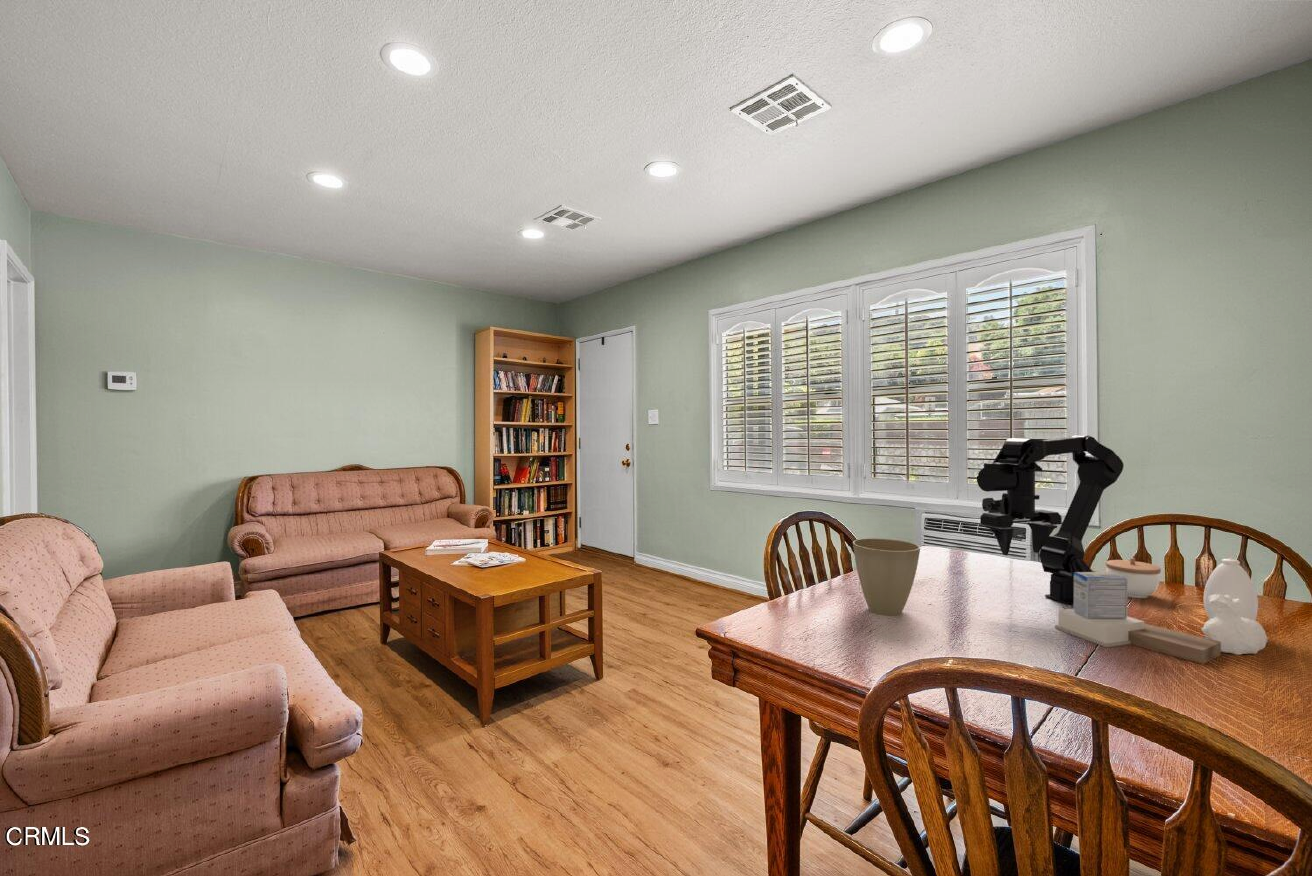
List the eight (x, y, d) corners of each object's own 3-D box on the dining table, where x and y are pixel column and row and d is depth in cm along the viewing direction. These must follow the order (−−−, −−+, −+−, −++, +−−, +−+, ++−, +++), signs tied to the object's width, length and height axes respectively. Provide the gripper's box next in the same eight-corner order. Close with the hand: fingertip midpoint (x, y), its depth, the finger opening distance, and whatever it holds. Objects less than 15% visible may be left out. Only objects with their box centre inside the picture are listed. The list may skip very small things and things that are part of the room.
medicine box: (1111, 612, 118) (1112, 571, 118) (1128, 619, 114) (1128, 577, 113) (1072, 611, 119) (1072, 571, 118) (1087, 619, 114) (1087, 577, 114)
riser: (1094, 623, 123) (1094, 605, 123) (1148, 641, 112) (1148, 622, 112) (1055, 628, 120) (1055, 609, 120) (1106, 647, 110) (1106, 627, 110)
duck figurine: (1256, 658, 109) (1218, 602, 116) (1295, 646, 103) (1252, 588, 110) (1202, 661, 108) (1166, 604, 115) (1238, 650, 102) (1198, 590, 109)
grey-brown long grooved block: (1141, 634, 116) (1141, 622, 116) (1220, 655, 105) (1220, 642, 105) (1123, 642, 112) (1123, 629, 112) (1203, 664, 102) (1203, 650, 102)
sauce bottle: (1241, 641, 112) (1241, 552, 111) (1194, 628, 119) (1195, 544, 119) (1267, 637, 114) (1268, 549, 114) (1219, 624, 121) (1220, 542, 121)
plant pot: (911, 626, 122) (911, 554, 122) (844, 612, 131) (844, 545, 131) (926, 608, 134) (926, 542, 134) (863, 597, 143) (863, 535, 143)
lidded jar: (1096, 591, 145) (1096, 556, 145) (1119, 586, 150) (1119, 552, 150) (1146, 603, 136) (1146, 565, 135) (1169, 597, 140) (1169, 560, 140)
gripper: (1023, 485, 145) (1023, 544, 146) (963, 488, 141) (962, 549, 141) (1063, 490, 134) (1063, 554, 135) (999, 493, 130) (999, 559, 130)
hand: (1020, 553), depth 136 cm, fingers open, 9 cm apart
